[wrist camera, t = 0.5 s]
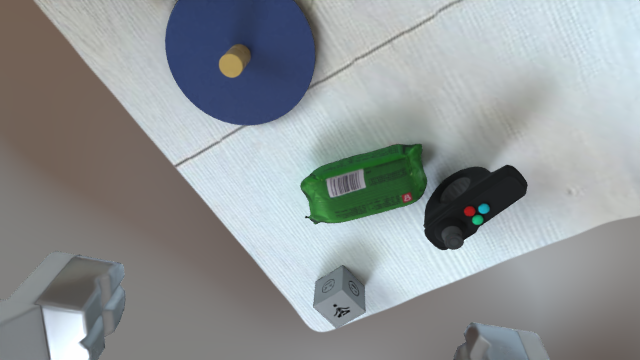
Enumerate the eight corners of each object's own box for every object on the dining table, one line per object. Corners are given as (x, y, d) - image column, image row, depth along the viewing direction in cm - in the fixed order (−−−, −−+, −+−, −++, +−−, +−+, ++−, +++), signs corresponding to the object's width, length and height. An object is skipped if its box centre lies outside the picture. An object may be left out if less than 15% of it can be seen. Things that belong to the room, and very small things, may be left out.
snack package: (294, 166, 58) (289, 187, 54) (417, 131, 55) (423, 150, 50) (313, 212, 61) (309, 235, 57) (430, 182, 58) (437, 204, 54)
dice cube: (337, 302, 69) (336, 328, 64) (315, 281, 67) (313, 306, 62) (364, 287, 67) (365, 312, 62) (342, 265, 65) (342, 289, 61)
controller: (410, 197, 59) (421, 244, 51) (493, 136, 55) (520, 176, 46) (431, 218, 61) (445, 267, 52) (514, 161, 56) (544, 204, 47)
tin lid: (171, -44, 47) (150, -41, 42) (329, -10, 48) (326, -3, 43) (166, 106, 55) (148, 124, 50) (301, 134, 56) (297, 154, 51)
